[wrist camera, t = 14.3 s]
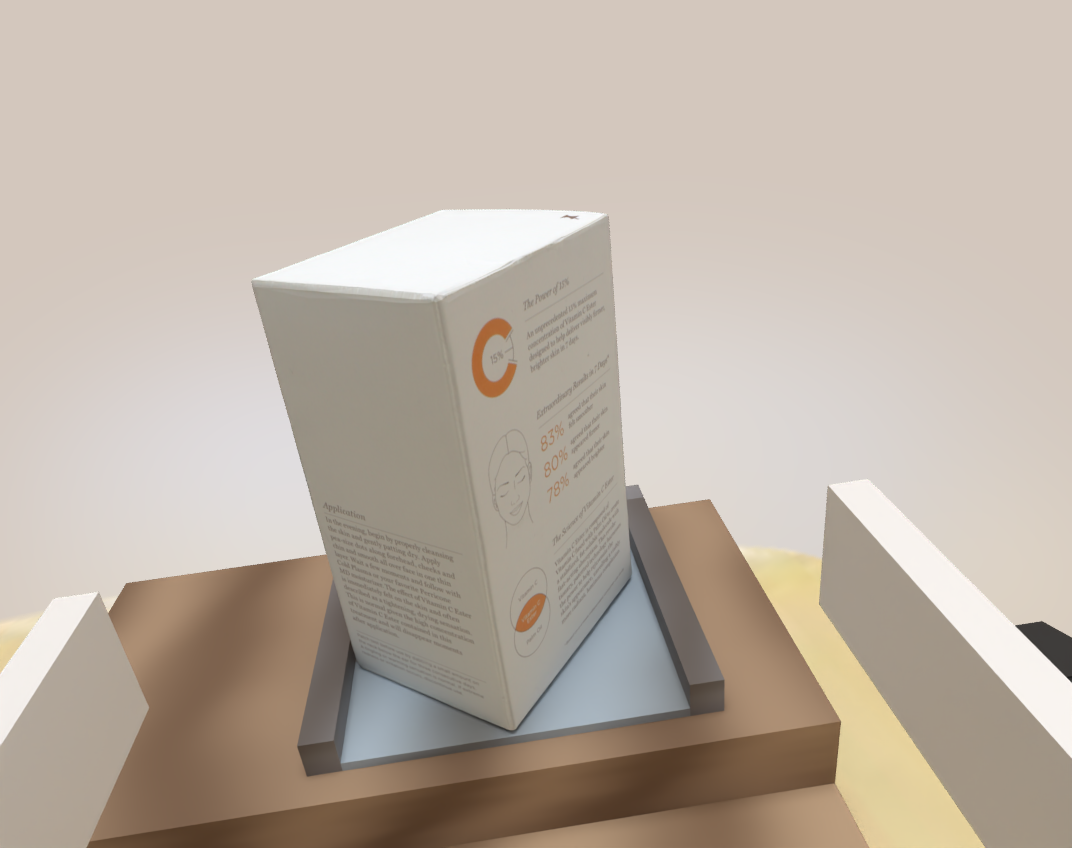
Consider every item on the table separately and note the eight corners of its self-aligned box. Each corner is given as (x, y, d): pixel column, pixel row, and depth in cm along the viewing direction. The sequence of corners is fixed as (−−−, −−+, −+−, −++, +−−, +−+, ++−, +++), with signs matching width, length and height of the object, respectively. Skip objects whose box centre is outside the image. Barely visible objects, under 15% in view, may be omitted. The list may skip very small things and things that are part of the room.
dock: (-47, 1145, 19) (-173, 1003, 16) (164, 676, 33) (116, 559, 31) (896, 978, 20) (925, 819, 18) (710, 594, 35) (709, 474, 32)
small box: (491, 536, 31) (441, 205, 25) (636, 577, 28) (616, 208, 22) (349, 669, 25) (241, 275, 19) (512, 741, 22) (441, 292, 16)
